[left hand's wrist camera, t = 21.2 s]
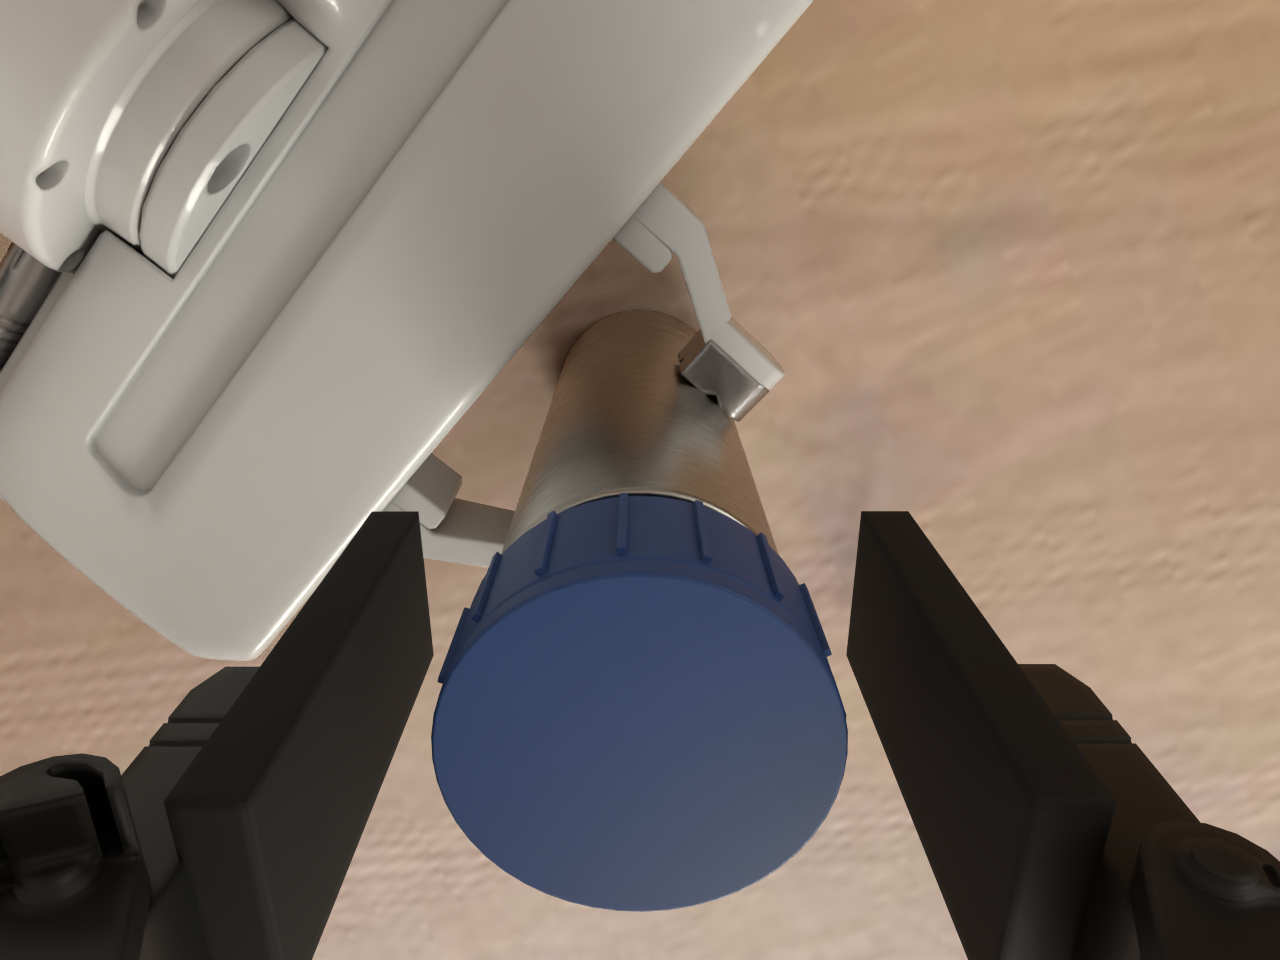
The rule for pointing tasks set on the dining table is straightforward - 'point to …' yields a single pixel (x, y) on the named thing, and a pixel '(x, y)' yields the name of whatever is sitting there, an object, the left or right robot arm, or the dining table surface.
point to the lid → (639, 708)
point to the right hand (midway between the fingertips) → (669, 484)
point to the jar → (636, 430)
